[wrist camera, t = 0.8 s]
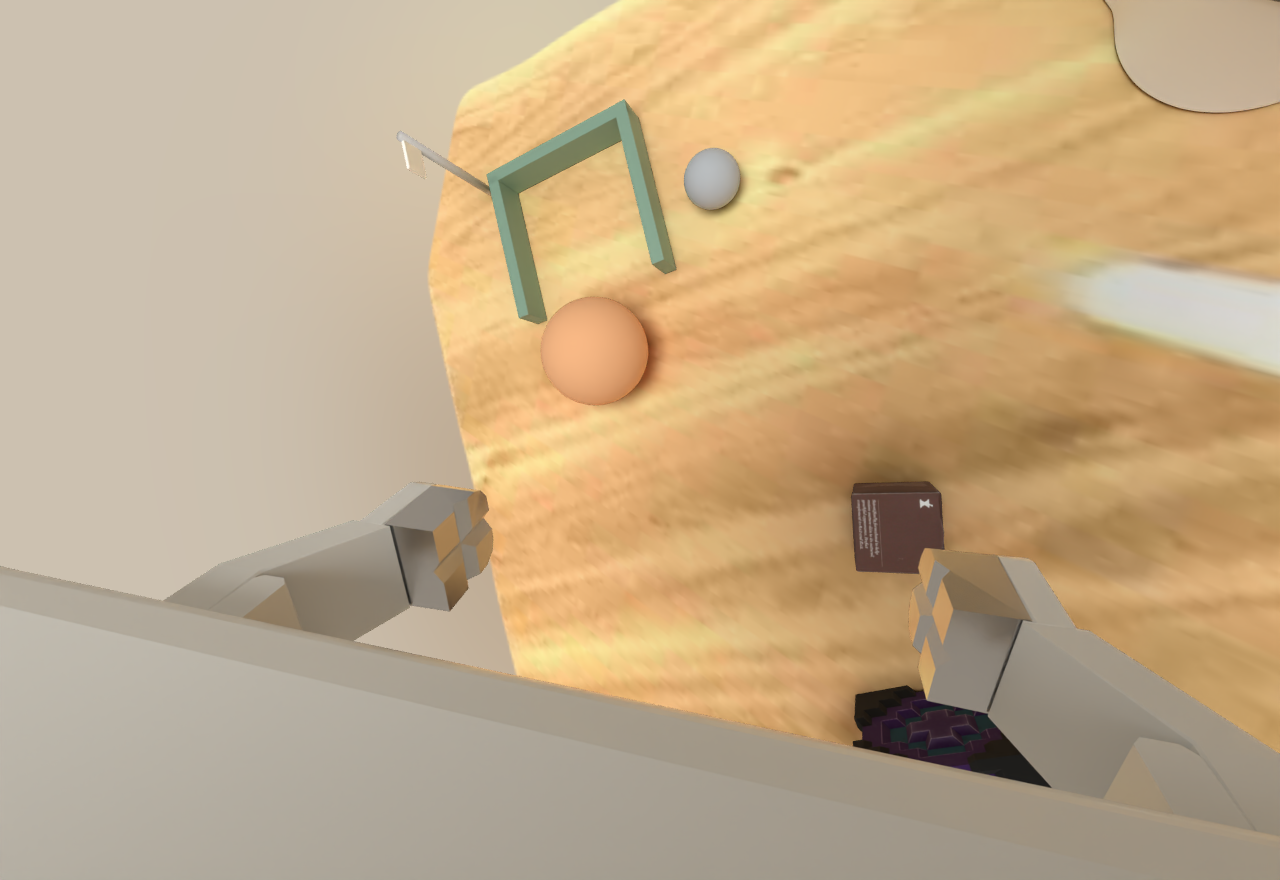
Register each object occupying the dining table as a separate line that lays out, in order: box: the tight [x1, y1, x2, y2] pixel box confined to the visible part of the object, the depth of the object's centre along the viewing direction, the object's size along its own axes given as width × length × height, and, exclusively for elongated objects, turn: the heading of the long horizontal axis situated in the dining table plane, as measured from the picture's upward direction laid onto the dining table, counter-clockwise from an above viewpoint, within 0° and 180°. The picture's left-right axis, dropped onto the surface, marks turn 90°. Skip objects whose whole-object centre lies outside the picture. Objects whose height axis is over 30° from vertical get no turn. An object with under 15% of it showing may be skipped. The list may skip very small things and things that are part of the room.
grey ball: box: [684, 148, 740, 210], centre depth 49 cm, size 5×5×5 cm
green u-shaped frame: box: [397, 100, 676, 324], centre depth 51 cm, size 16×18×14 cm
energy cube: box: [853, 686, 1052, 788], centre depth 39 cm, size 12×12×12 cm
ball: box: [541, 297, 648, 405], centre depth 51 cm, size 10×10×10 cm
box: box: [851, 482, 944, 574], centre depth 43 cm, size 6×6×7 cm
